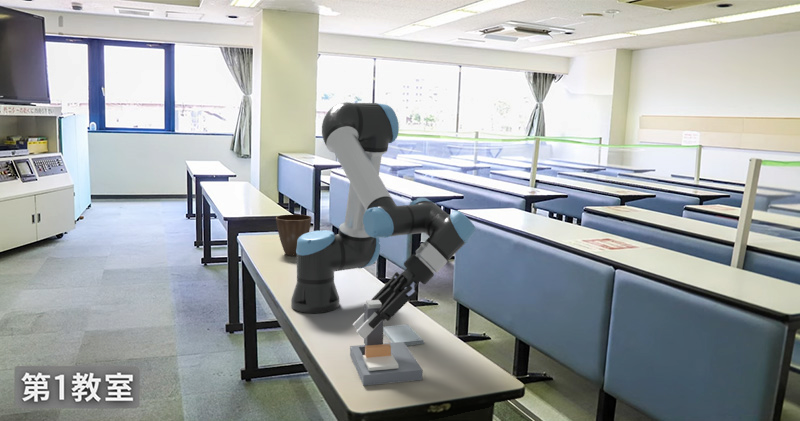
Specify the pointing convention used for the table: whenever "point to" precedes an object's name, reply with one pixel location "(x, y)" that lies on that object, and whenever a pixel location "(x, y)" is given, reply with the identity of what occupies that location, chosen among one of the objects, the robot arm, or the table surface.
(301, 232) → the plant pot
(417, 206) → the robot arm
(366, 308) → the grey block
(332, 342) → the table surface
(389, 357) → the shutter
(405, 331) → the hard drive
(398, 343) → the socket plate
